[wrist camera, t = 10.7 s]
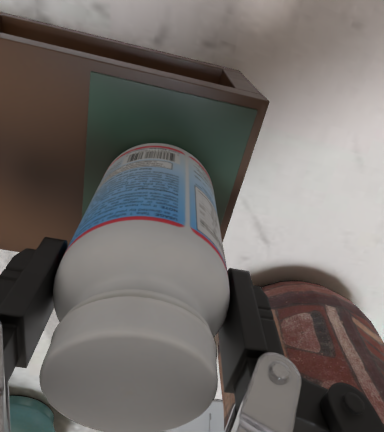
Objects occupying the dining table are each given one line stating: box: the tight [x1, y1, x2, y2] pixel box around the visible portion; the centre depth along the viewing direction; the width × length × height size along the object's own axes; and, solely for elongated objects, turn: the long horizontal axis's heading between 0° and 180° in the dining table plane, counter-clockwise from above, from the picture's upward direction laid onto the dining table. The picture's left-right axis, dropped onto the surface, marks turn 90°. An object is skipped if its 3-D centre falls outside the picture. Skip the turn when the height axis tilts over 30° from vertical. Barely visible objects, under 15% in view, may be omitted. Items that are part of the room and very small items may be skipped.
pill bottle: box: [40, 143, 230, 432], centre depth 13 cm, size 6×6×11 cm
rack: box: [0, 12, 269, 252], centre depth 22 cm, size 12×18×11 cm, turn 77°
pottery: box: [218, 281, 384, 430], centre depth 31 cm, size 18×18×18 cm
